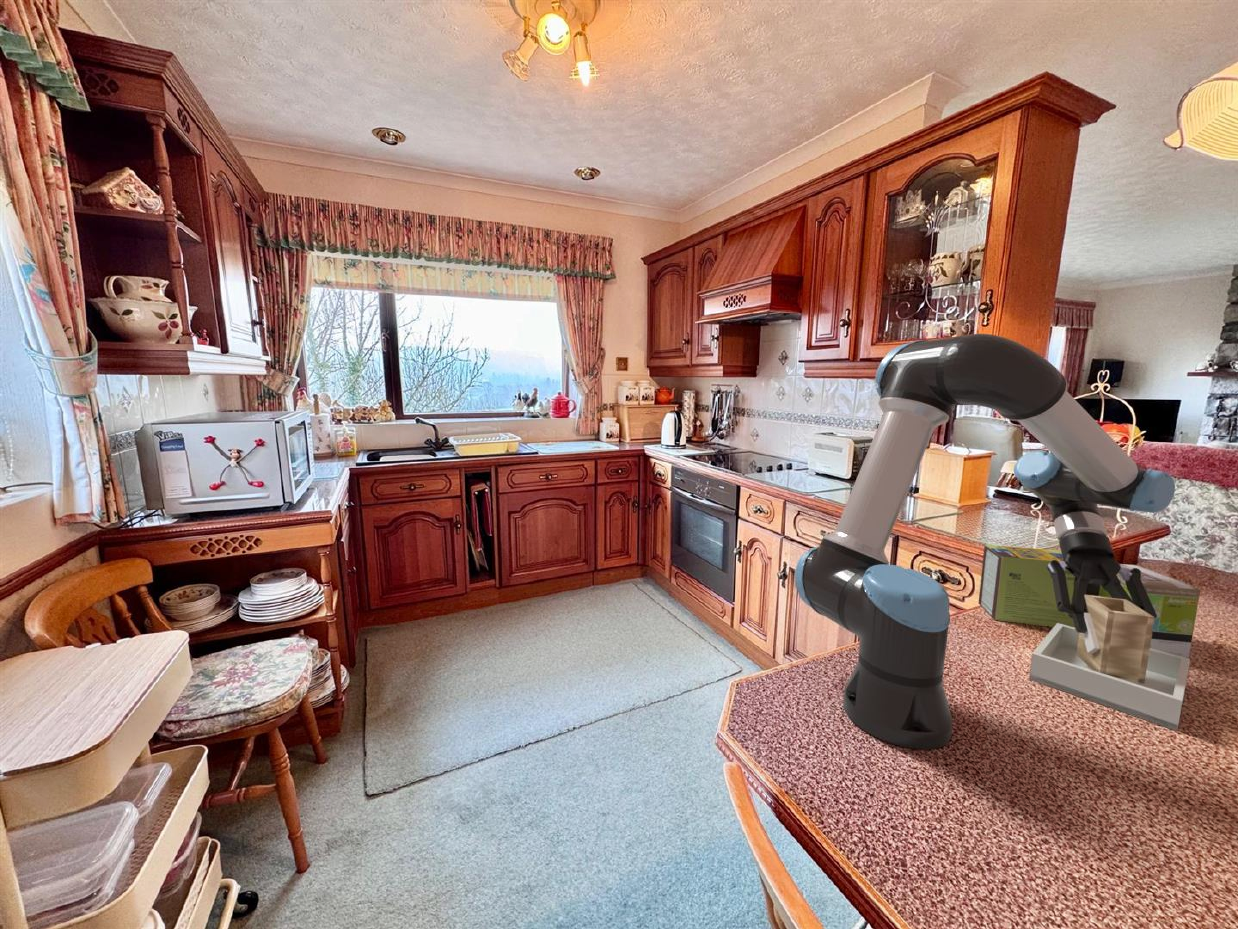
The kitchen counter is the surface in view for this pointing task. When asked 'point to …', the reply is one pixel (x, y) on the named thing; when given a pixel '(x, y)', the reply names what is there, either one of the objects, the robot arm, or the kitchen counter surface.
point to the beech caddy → (1118, 638)
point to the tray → (1112, 679)
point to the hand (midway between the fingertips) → (1118, 654)
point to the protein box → (1022, 586)
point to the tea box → (1165, 609)
